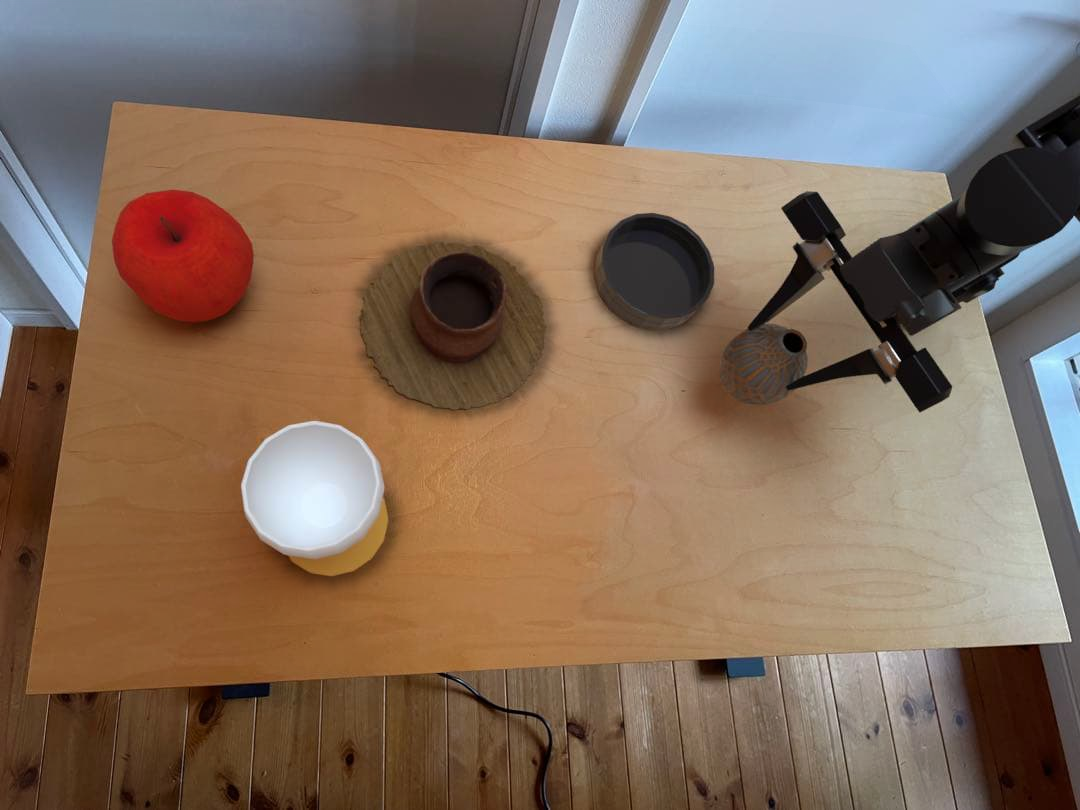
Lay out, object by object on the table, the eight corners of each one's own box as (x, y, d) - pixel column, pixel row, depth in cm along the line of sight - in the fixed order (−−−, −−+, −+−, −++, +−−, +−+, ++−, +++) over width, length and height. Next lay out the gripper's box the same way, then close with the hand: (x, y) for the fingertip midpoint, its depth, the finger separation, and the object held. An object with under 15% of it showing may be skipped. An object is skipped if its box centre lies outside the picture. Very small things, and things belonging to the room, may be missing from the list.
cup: (280, 470, 58) (240, 415, 43) (388, 468, 60) (386, 415, 45) (274, 579, 55) (228, 560, 40) (387, 573, 57) (384, 554, 42)
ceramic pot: (548, 255, 70) (563, 216, 63) (543, 418, 64) (560, 394, 57) (370, 231, 67) (367, 188, 60) (348, 401, 61) (342, 373, 54)
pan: (663, 214, 74) (674, 197, 71) (722, 303, 72) (736, 290, 69) (573, 252, 70) (580, 236, 68) (632, 348, 68) (642, 336, 65)
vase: (791, 383, 64) (848, 348, 56) (747, 428, 62) (799, 398, 53) (740, 331, 65) (788, 288, 56) (694, 374, 62) (738, 335, 54)
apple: (270, 251, 64) (243, 169, 53) (260, 347, 61) (229, 282, 49) (156, 242, 62) (102, 155, 51) (139, 341, 59) (78, 272, 47)
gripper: (879, 112, 44) (682, 256, 51) (1056, 352, 41) (818, 471, 48) (884, 154, 54) (717, 270, 61) (1026, 351, 51) (833, 450, 58)
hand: (767, 358), depth 57 cm, fingers closed on vase, 5 cm apart
